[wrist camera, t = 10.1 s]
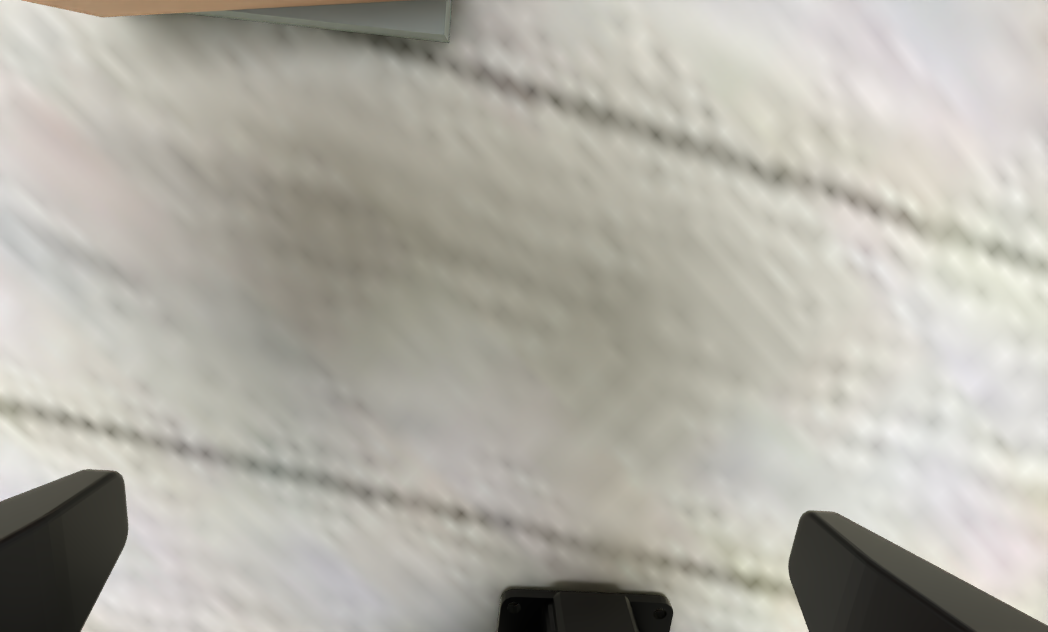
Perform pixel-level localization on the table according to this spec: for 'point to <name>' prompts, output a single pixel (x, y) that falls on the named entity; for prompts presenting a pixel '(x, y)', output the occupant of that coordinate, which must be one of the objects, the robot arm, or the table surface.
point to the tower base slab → (360, 18)
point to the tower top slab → (179, 5)
